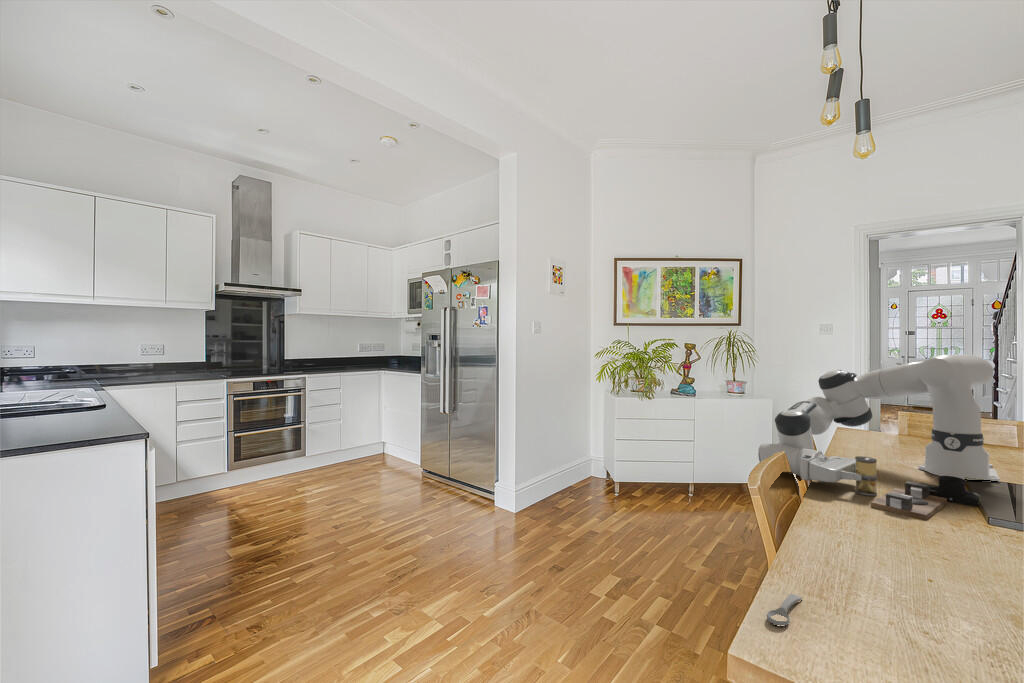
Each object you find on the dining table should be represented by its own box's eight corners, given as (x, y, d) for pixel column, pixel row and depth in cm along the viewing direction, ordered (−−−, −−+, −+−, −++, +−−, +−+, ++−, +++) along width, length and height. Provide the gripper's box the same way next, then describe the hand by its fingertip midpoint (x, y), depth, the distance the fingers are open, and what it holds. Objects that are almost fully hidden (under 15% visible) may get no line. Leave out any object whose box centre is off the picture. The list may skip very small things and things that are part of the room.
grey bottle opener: (763, 624, 70) (763, 611, 70) (786, 600, 78) (786, 588, 78) (784, 633, 68) (785, 619, 68) (806, 607, 76) (806, 595, 76)
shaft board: (895, 492, 130) (894, 478, 130) (947, 502, 121) (947, 488, 121) (870, 506, 118) (870, 491, 119) (926, 520, 110) (926, 503, 110)
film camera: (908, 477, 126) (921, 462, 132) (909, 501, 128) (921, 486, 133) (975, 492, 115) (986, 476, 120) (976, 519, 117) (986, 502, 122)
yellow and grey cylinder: (859, 489, 132) (858, 455, 132) (879, 494, 128) (879, 458, 129) (853, 492, 130) (852, 458, 130) (873, 497, 126) (873, 461, 126)
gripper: (827, 468, 146) (880, 479, 135) (799, 480, 134) (855, 492, 123) (826, 449, 146) (880, 458, 135) (798, 459, 134) (854, 469, 123)
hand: (867, 474), depth 129 cm, fingers open, 8 cm apart
